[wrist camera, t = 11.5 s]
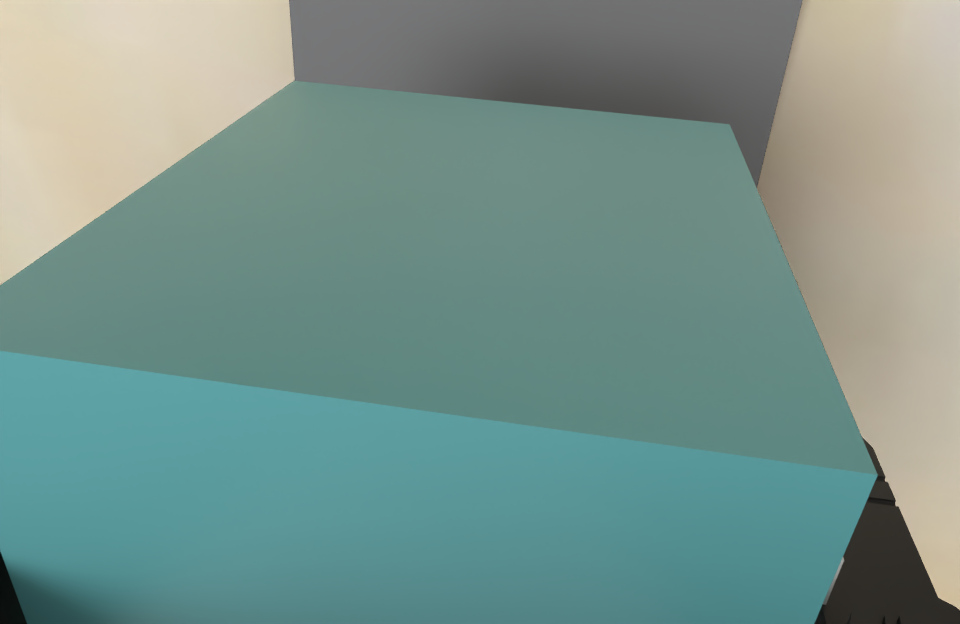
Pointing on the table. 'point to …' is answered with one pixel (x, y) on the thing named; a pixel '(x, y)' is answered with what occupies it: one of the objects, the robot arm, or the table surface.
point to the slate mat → (563, 54)
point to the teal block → (426, 381)
